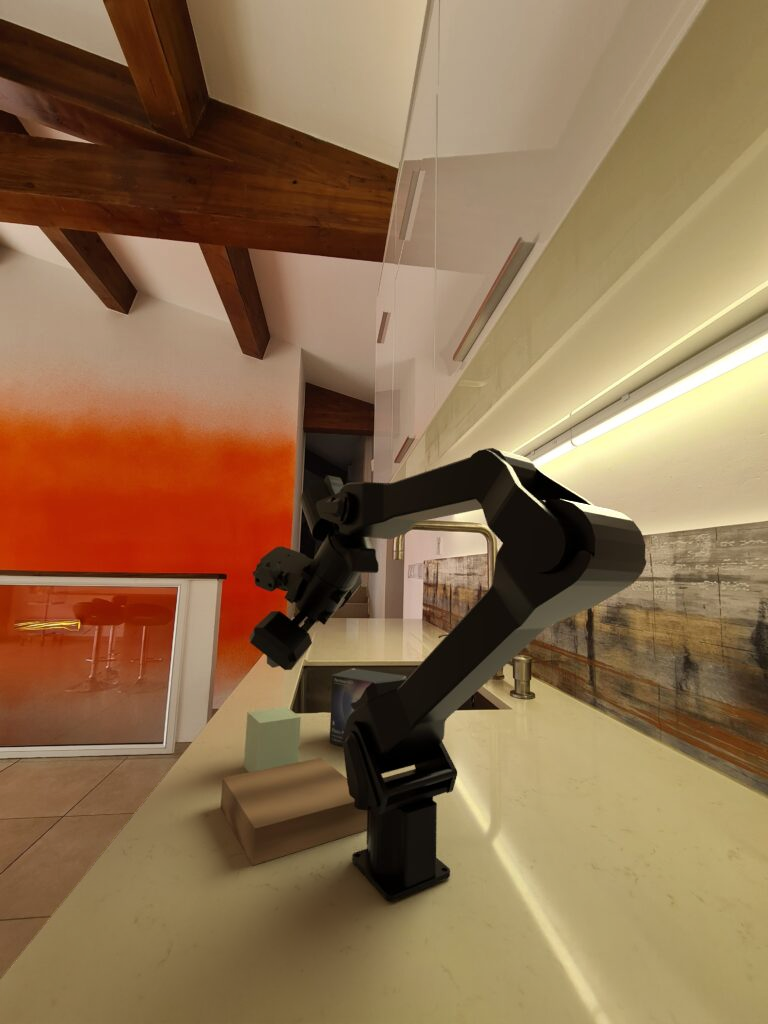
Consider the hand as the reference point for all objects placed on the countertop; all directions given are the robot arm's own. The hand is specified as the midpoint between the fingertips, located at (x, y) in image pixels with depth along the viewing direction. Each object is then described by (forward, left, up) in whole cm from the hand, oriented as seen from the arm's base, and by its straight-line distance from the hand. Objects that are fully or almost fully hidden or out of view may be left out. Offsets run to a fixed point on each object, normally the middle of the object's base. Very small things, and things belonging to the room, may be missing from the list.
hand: (289, 643), depth 63 cm
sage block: (0, +2, -16) cm, 16 cm away
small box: (+2, -14, -16) cm, 22 cm away
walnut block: (-13, +4, -16) cm, 21 cm away
